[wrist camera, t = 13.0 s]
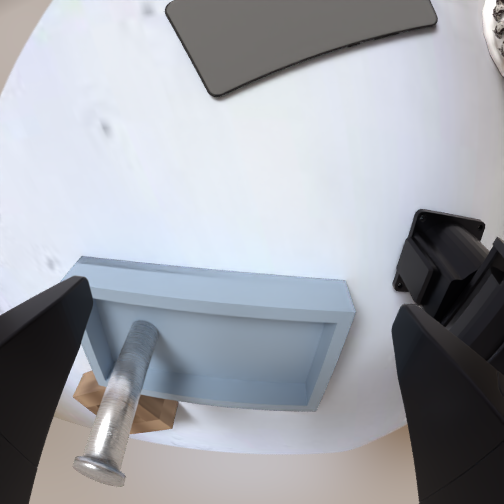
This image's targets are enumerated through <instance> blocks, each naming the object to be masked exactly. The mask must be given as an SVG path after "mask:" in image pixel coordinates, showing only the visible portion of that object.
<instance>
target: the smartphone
mask: <svg viewBox="0 0 504 504" xmlns="http://www.w3.org/2000/svg"><path fill="white" fill-rule="evenodd" d="M165 14H166V16H167V18H168V20H169V21H170V23H171V25H172V27H173V29H174V31H175V32H176V34H177V36H178V38H179V40H180V41H181V43H182V45H183V47H184V49H185V51H186V52H187V54H188V56H189V58H190V60H191V62H192V64H193V65H194V67H195V69H196V71H197V73H198V75H199V77H200V78H201V80H202V82H203V84H204V86H205V88H206V90H207V92H208V93H209V94H210V95H212V96H214V97H220V96H223V95H225V94H227V93H229V92H231V91H233V90H236V89H238V88H240V87H242V86H244V85H247V84H249V83H251V82H253V81H256V80H258V79H260V78H263V77H265V76H267V75H270V74H272V73H275V72H277V71H280V70H282V69H285V68H287V67H290V66H292V65H295V64H298V63H300V62H303V61H306V60H309V59H312V58H314V57H317V56H320V55H323V54H326V53H329V52H332V51H335V50H338V49H341V48H345V47H351V46H354V45H357V44H360V43H362V42H365V41H369V40H373V39H374V40H375V39H379V38H383V37H387V36H391V35H396V34H399V33H401V32H405V31H410V30H415V29H420V28H425V27H430V26H434V25H435V24H436V23H437V20H438V18H437V15H436V13H435V10H434V8H433V6H432V4H431V2H430V0H174V1H172V2H170V3H169V4H168V5H167V6H166V8H165Z"/></svg>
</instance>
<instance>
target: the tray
mask: <svg viewBox="0 0 504 504" xmlns="http://www.w3.org/2000/svg"><path fill="white" fill-rule="evenodd" d="M74 275H77V276H84V277H86V278H87V279H88V281H89V285H90V289H91V293H92V297H93V308H92V311H91V314H90V317H89V320H88V323H87V326H86V329H85V332H84V336H83V339H82V342H81V344H82V347H83V349H84V352H85V354H86V357H87V359H88V361H89V364H90V366H91V369H92V371H93V373H94V375H95V378H96V380H97V382H98V384H99V385H100V386H104V387H107V385H108V382H109V380H110V377H111V374H112V372H113V369H114V367H115V364H116V362H117V359H118V357H119V354H120V352H121V349H122V347H123V344H124V342H125V339H126V337H127V335H128V332H129V330H130V327H131V325H132V323H133V322H135V321H137V320H144V321H147V322H150V323H151V324H153V325H154V326H155V327H156V328H157V329H158V332H159V336H158V339H157V342H156V346H155V349H154V352H153V355H152V358H151V361H150V365H149V368H148V371H147V375H146V378H145V381H144V385H143V388H142V391H141V395H146V396H151V397H157V398H163V399H169V400H175V401H181V402H188V403H195V404H203V405H211V406H220V407H231V408H242V409H255V410H273V411H312V412H316V410H317V408H318V406H319V404H320V401H321V399H322V397H323V394H324V392H325V390H326V388H327V385H328V383H329V380H330V378H331V376H332V373H333V371H334V368H335V366H336V363H337V361H338V358H339V356H340V353H341V351H342V348H343V346H344V343H345V340H346V338H347V335H348V332H349V330H350V327H351V324H352V321H353V318H354V316H355V313H356V311H355V308H354V305H353V302H352V299H351V296H350V293H349V290H348V287H347V284H346V281H345V280H333V279H319V278H306V277H293V276H281V275H269V274H257V273H245V272H234V271H223V270H212V269H201V268H190V267H180V266H170V265H160V264H150V263H140V262H131V261H121V260H112V259H103V258H94V257H85V256H81V258H80V259H79V260H78V261H77V262H76V263H75V265H74V266H73V267H72V268H71V269H70V271H69V272H68V273H67V274H66V275H65V277H64V278H63V279H62V280H61V282H62V281H64V280H66V279H68V278H70V277H72V276H74Z"/></svg>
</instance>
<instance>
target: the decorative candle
mask: <svg viewBox="0 0 504 504" xmlns="http://www.w3.org/2000/svg"><path fill="white" fill-rule="evenodd" d="M482 20H483V33H484V36H485V39H486V42H487V46H488V49H489V52H490V55H491V57H492V59H493V61H494V62H495V64H496V66H497V68H498V69H499V71H500V73H501V75H502V76H503V77H504V0H486V1H485V4H484V7H483V10H482Z"/></svg>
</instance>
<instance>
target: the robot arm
mask: <svg viewBox="0 0 504 504" xmlns="http://www.w3.org/2000/svg"><path fill="white" fill-rule="evenodd" d="M422 215H424V217H423V218H422V219H420V217H421V216H422ZM479 226H480V227H479ZM478 227H479V228H478ZM484 229H485V224H484V222H482V221H481V220H479V219H474V218H469V217H464V216H459V215H453V214H448V213H442V212H437V211H431V210H425V209H420V210H418V211H417V212H416V213H415V216H414V219H413V223H412V226H411V230H410V233H409V236H408V238H407V239H406V241H405V244H404V247H403V250H402V253H401V256H400V259H399V262H398V265H397V273H396V275H395V278H394V281H393V287H394V289H395V290H396V291H403V292H410V294H411V296H412V298H413V300H414V302H415V303H416V305H415V304H403V305H402V306H401V307H400V309H399V311H398V314H397V316H396V318H395V321H394V323H393V326H392V339H393V345H394V352H395V360H396V368H397V375H398V380H399V385H400V389H401V394H402V399H403V403H404V408H405V413H406V418H407V423H408V429H409V434H410V440H411V446H412V452H413V458H414V465H415V472H416V480H417V487H418V496H419V504H504V241H503V240H501V239H500V238H499V237H497V238H496V239H495V241H494V243H493V247H492V249H491V250H490V252H489V250H488V249H487V248H486V247H485V246H484V245H483V244H482V243H481V242H480V240H481V238H482V235H483V232H484ZM399 283H401V284H400V285H398V284H399ZM418 306H421V307H422V309H423V310H422V309H421V308H419V307H418ZM92 308H93V297H92V293H91V289H90V285H89V281H88V279H87V278H86V277H84V276H77V275H74V276H72V277H70V278H68V279H66V280H64V281H62V282H60V283H58V284H56V285H55V286H53V287H51V288H49V289H47V290H45V291H43V292H41V293H40V294H38V295H36V296H34V297H32V298H30V299H29V300H27V301H25V302H23V303H21V304H20V305H18V306H16V307H14V308H12V309H11V310H9V311H7V312H5V313H4V314H2V315H0V504H29V500H30V496H31V491H32V488H33V484H34V479H35V476H36V472H37V467H38V464H39V460H40V457H41V454H42V450H43V447H44V444H45V440H46V437H47V434H48V431H49V428H50V425H51V422H52V419H53V416H54V413H55V410H56V407H57V405H58V402H59V399H60V396H61V394H62V391H63V388H64V386H65V383H66V381H67V378H68V375H69V373H70V370H71V368H72V366H73V363H74V361H75V358H76V356H77V353H78V351H79V348H80V345H81V342H82V339H83V336H84V332H85V329H86V326H87V323H88V320H89V317H90V314H91V311H92Z"/></svg>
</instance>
